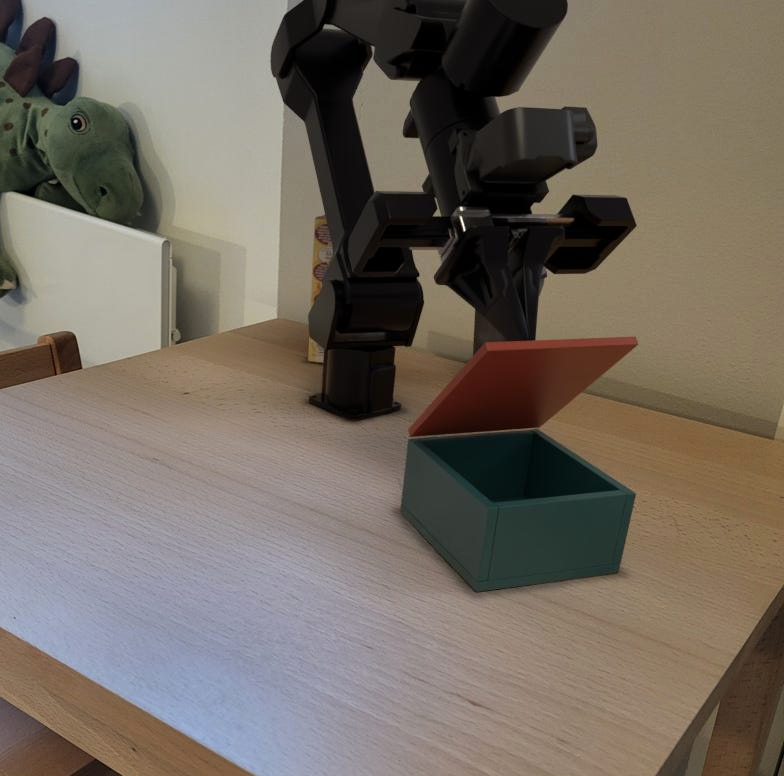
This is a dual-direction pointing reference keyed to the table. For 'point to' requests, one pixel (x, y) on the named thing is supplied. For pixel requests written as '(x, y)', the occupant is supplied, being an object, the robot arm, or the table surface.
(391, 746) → the table surface
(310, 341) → the candy box
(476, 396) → the lid
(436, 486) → the teal open box
